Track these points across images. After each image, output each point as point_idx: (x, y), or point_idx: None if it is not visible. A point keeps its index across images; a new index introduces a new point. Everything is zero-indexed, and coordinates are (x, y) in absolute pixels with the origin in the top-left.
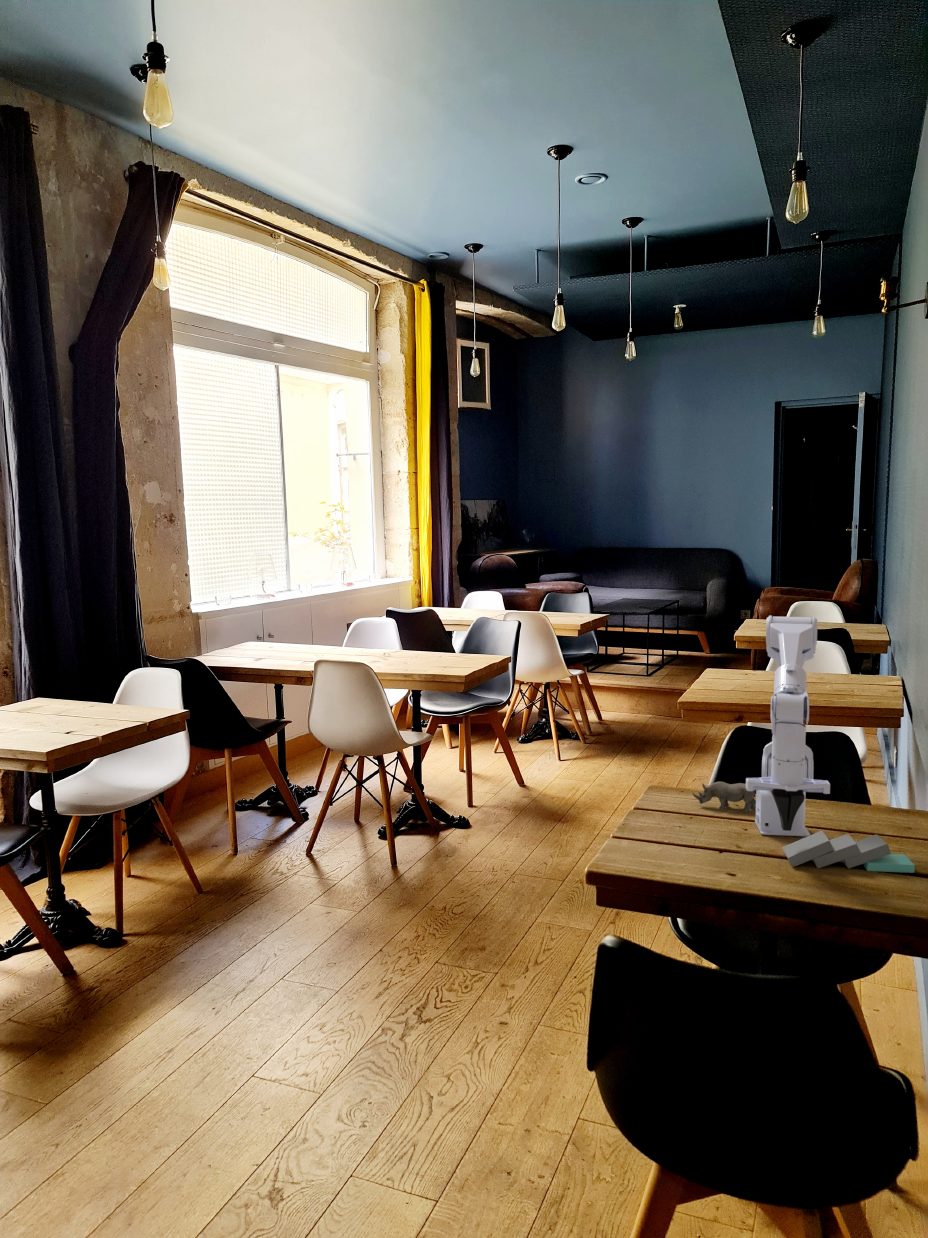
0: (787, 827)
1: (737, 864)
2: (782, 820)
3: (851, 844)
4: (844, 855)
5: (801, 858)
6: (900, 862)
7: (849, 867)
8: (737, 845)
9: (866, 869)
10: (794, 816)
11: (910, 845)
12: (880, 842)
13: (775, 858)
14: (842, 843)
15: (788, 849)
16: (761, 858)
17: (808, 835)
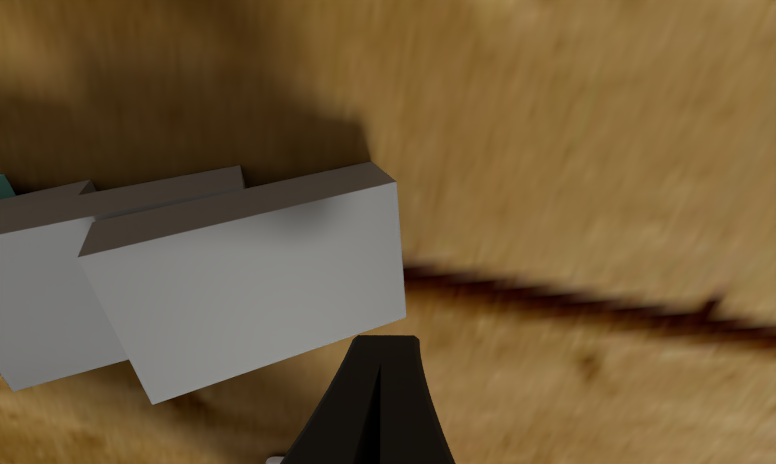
0: (383, 354)
1: (688, 158)
2: (434, 408)
3: None
4: (54, 208)
5: (314, 185)
6: None
7: (80, 183)
8: (588, 376)
9: (11, 190)
10: (294, 449)
11: None
12: None
13: (442, 263)
14: (41, 294)
15: (377, 279)
16: (515, 254)
17: (271, 460)
